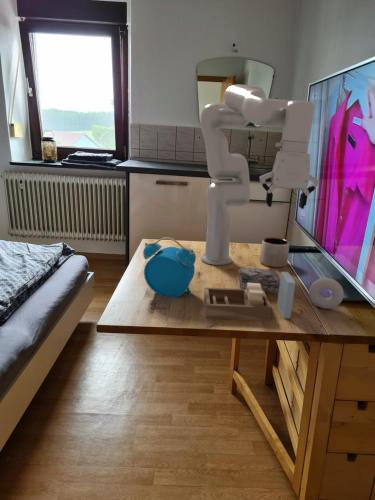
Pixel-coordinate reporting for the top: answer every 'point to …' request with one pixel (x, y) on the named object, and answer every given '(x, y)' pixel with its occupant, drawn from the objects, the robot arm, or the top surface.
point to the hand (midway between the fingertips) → (285, 206)
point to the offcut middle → (253, 302)
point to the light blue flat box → (286, 294)
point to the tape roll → (326, 284)
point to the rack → (233, 305)
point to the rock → (260, 279)
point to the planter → (274, 252)
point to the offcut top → (254, 291)
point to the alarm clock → (169, 268)
